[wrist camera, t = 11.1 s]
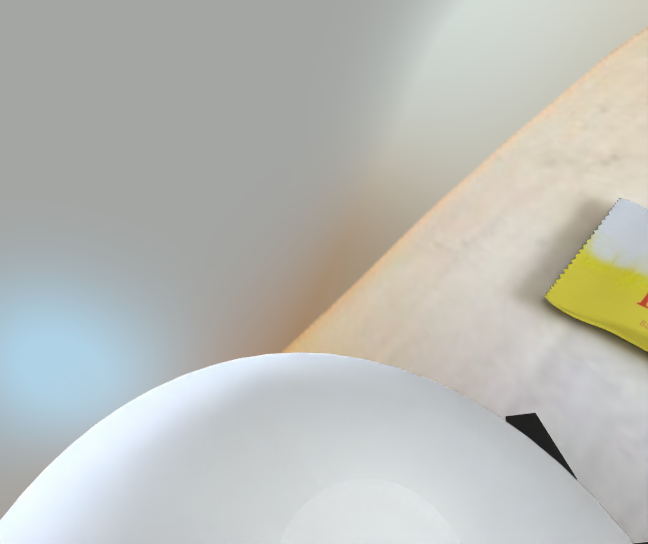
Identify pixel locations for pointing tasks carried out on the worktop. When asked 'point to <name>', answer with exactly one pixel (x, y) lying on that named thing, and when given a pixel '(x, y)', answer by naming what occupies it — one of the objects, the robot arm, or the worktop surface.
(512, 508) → the cup
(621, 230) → the food package
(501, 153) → the worktop surface
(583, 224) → the worktop surface
